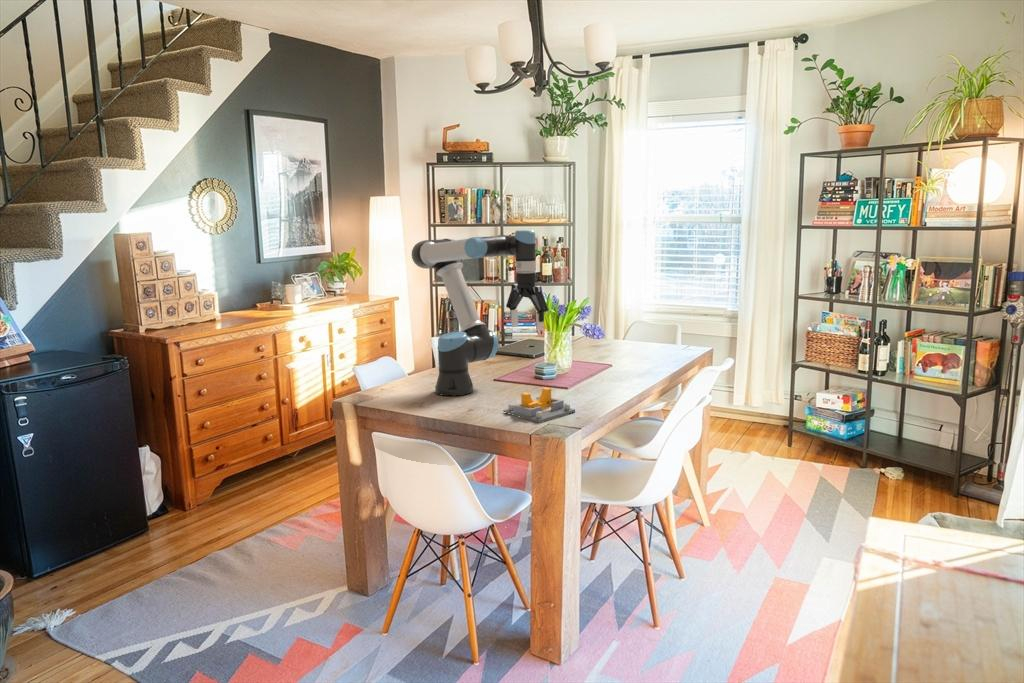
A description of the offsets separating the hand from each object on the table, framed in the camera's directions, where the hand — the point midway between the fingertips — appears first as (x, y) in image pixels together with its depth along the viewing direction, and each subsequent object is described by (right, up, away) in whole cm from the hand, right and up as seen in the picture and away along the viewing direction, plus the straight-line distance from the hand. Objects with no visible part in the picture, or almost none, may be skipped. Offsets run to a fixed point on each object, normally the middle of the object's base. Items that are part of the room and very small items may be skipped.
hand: (527, 328), depth 273 cm
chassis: (+4, -30, -16) cm, 34 cm away
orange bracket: (+4, -29, -16) cm, 33 cm away
